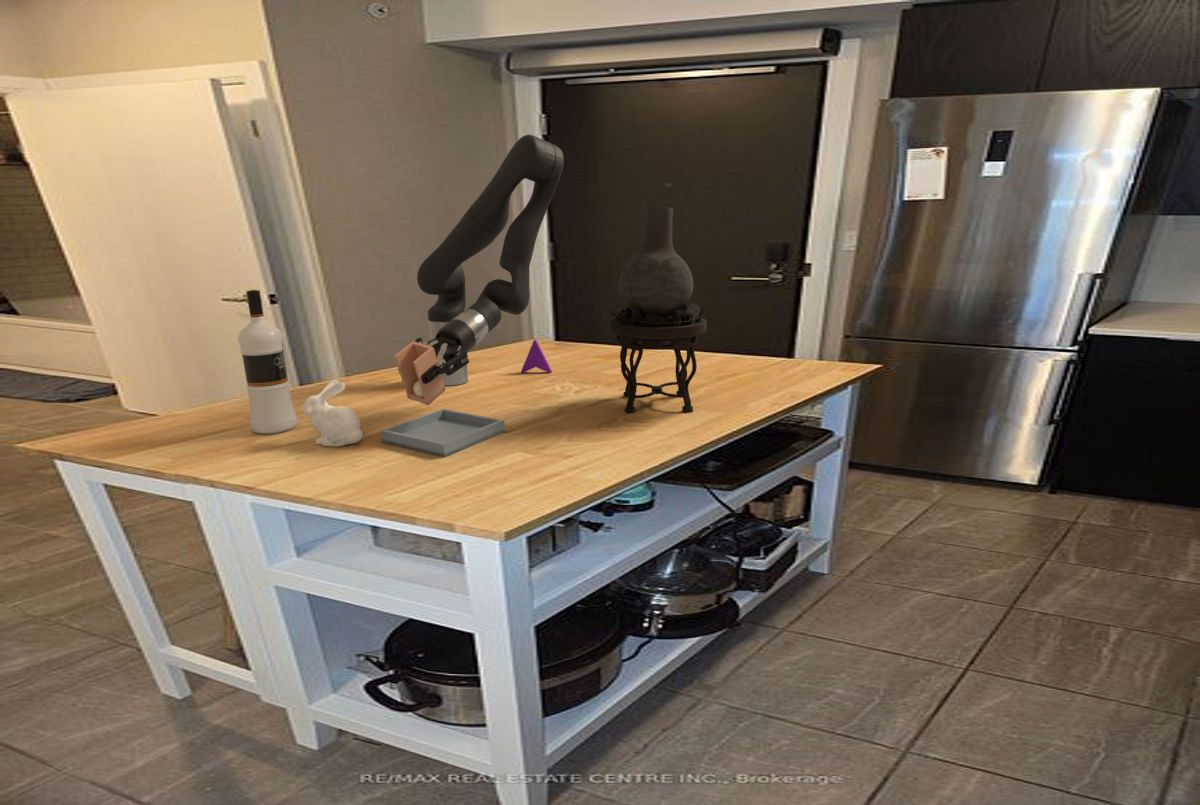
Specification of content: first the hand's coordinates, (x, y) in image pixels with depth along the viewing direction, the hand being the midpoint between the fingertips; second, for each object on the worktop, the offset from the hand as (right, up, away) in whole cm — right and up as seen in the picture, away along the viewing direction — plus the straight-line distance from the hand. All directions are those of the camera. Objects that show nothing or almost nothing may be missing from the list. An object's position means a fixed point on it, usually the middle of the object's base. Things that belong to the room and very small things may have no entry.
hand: (411, 376), depth 136 cm
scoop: (+2, -4, +6) cm, 7 cm away
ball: (+1, -2, +3) cm, 4 cm away
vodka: (-33, -11, +10) cm, 36 cm away
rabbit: (-16, -13, +1) cm, 21 cm away
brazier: (+52, -6, +24) cm, 57 cm away
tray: (+6, -12, +3) cm, 14 cm away
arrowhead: (+20, +3, +57) cm, 60 cm away
